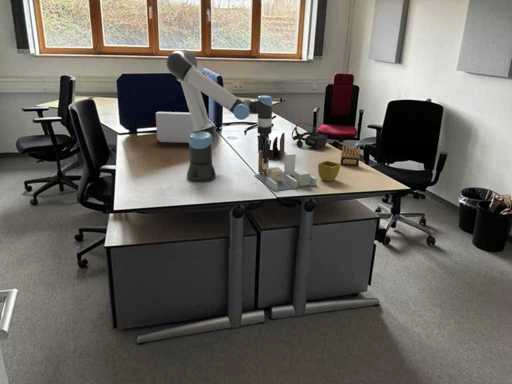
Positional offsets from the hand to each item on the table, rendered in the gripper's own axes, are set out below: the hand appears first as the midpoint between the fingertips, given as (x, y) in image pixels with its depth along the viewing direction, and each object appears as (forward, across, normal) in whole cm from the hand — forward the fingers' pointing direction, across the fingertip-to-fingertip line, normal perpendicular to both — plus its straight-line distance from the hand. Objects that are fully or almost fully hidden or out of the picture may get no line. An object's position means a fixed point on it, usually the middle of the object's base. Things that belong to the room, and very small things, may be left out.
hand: (263, 167), depth 232 cm
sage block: (+2, -18, -11) cm, 21 cm away
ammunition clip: (+3, -3, -54) cm, 54 cm away
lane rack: (+3, -15, -6) cm, 17 cm away
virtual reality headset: (+3, +46, -54) cm, 71 cm away
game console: (+3, +83, +29) cm, 88 cm away
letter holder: (+3, +30, -21) cm, 36 cm away
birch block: (+2, -8, 0) cm, 8 cm away
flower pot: (+3, -22, -28) cm, 36 cm away
